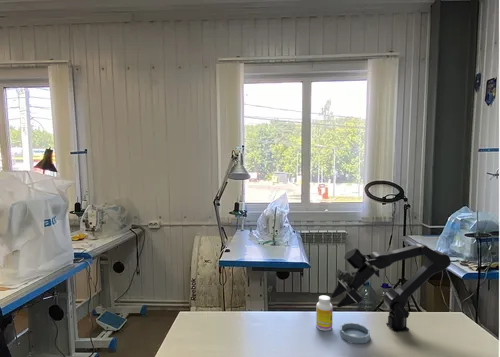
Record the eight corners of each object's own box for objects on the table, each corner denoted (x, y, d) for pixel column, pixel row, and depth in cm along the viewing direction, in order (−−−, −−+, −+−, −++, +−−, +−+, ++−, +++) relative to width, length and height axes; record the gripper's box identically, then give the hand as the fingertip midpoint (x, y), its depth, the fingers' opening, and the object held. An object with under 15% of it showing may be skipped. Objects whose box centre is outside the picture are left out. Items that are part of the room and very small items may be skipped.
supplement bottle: (332, 332, 134) (333, 301, 133) (316, 330, 135) (316, 300, 134) (331, 324, 140) (332, 294, 140) (316, 322, 142) (316, 293, 141)
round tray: (359, 327, 138) (359, 321, 137) (375, 341, 127) (375, 335, 127) (335, 330, 135) (335, 324, 135) (349, 345, 124) (349, 339, 124)
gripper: (341, 255, 145) (316, 280, 146) (355, 270, 127) (326, 297, 127) (359, 273, 146) (334, 297, 147) (374, 290, 127) (345, 317, 128)
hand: (334, 301), depth 137 cm, fingers open, 9 cm apart
